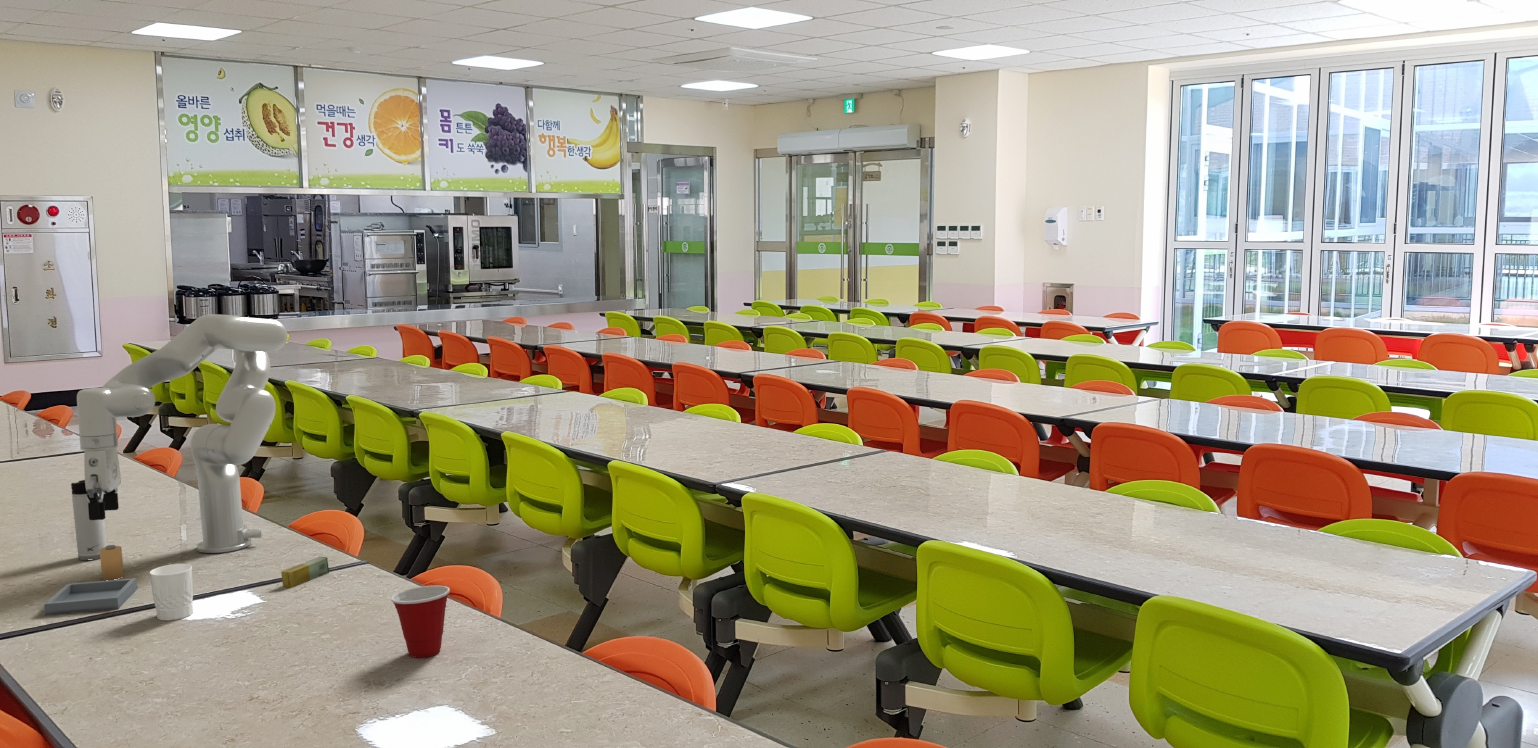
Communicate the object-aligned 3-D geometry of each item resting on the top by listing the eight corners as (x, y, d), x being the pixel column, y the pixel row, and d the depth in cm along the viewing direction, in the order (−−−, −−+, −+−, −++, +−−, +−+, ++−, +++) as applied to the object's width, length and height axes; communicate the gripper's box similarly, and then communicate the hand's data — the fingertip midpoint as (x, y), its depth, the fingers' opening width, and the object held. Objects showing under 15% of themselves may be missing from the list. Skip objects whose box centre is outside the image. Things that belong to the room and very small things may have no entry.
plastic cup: (432, 637, 225) (428, 578, 223) (465, 649, 218) (461, 589, 216) (382, 654, 217) (378, 593, 215) (415, 667, 210) (411, 604, 208)
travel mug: (95, 561, 280) (87, 481, 278) (72, 560, 282) (64, 481, 279) (114, 554, 286) (107, 476, 284) (92, 553, 288) (84, 475, 285)
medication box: (321, 572, 269) (319, 556, 269) (330, 573, 268) (328, 556, 268) (282, 588, 258) (280, 571, 258) (291, 589, 257) (289, 571, 257)
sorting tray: (137, 588, 259) (136, 578, 258) (118, 608, 245) (117, 597, 245) (68, 594, 255) (67, 583, 255) (45, 615, 242) (44, 604, 241)
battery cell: (126, 574, 270) (123, 542, 269) (120, 579, 266) (117, 547, 265) (105, 575, 269) (102, 544, 268) (99, 581, 265) (96, 549, 264)
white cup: (149, 623, 236) (145, 576, 234) (159, 611, 243) (154, 565, 242) (191, 619, 238) (187, 573, 236) (199, 607, 245) (195, 562, 244)
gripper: (105, 447, 255) (110, 522, 257) (128, 435, 272) (133, 505, 274) (67, 449, 253) (73, 524, 255) (93, 436, 270) (98, 507, 272)
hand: (104, 514), depth 265 cm, fingers open, 9 cm apart
